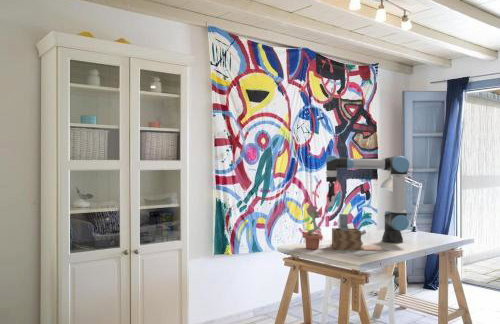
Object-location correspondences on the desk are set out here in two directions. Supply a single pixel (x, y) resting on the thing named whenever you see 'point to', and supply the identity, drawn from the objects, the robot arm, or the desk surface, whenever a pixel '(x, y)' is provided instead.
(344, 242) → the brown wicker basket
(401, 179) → the robot arm
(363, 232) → the door handle
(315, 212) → the decorative flower
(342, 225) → the grey tall block
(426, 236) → the desk surface
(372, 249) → the tile
